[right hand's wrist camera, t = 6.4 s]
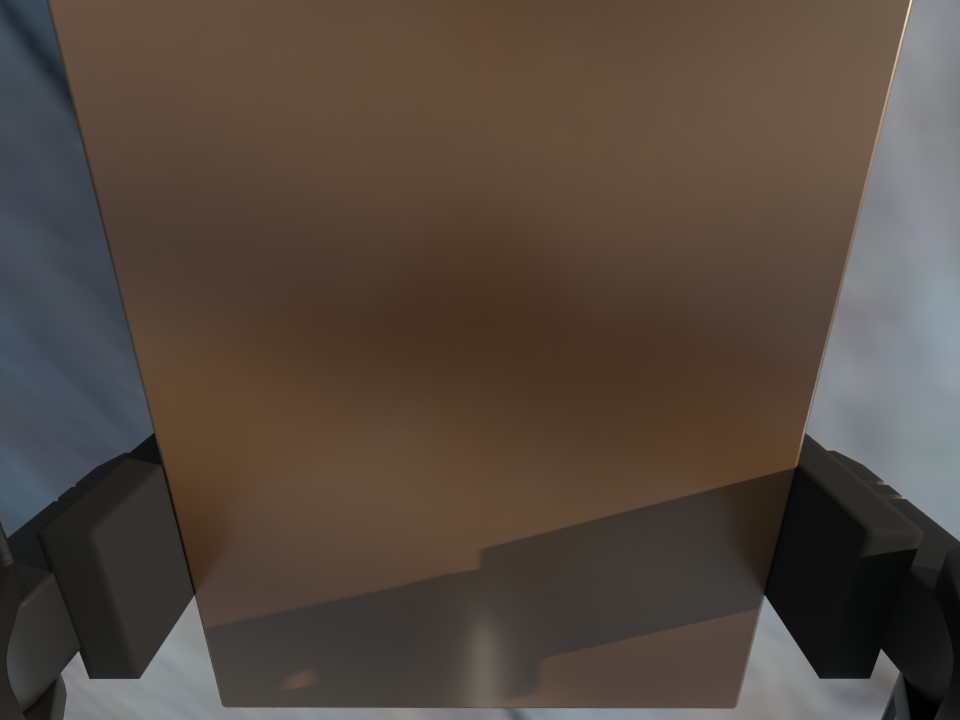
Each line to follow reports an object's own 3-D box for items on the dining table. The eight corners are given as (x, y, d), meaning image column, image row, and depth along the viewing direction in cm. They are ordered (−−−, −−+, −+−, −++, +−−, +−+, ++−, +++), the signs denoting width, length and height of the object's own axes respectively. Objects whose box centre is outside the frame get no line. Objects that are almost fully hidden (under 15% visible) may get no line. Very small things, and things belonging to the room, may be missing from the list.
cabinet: (295, -99, 14) (-135, -709, 4) (665, -99, 14) (1096, -713, 4) (349, 438, 21) (220, 709, 10) (610, 438, 20) (738, 710, 10)
